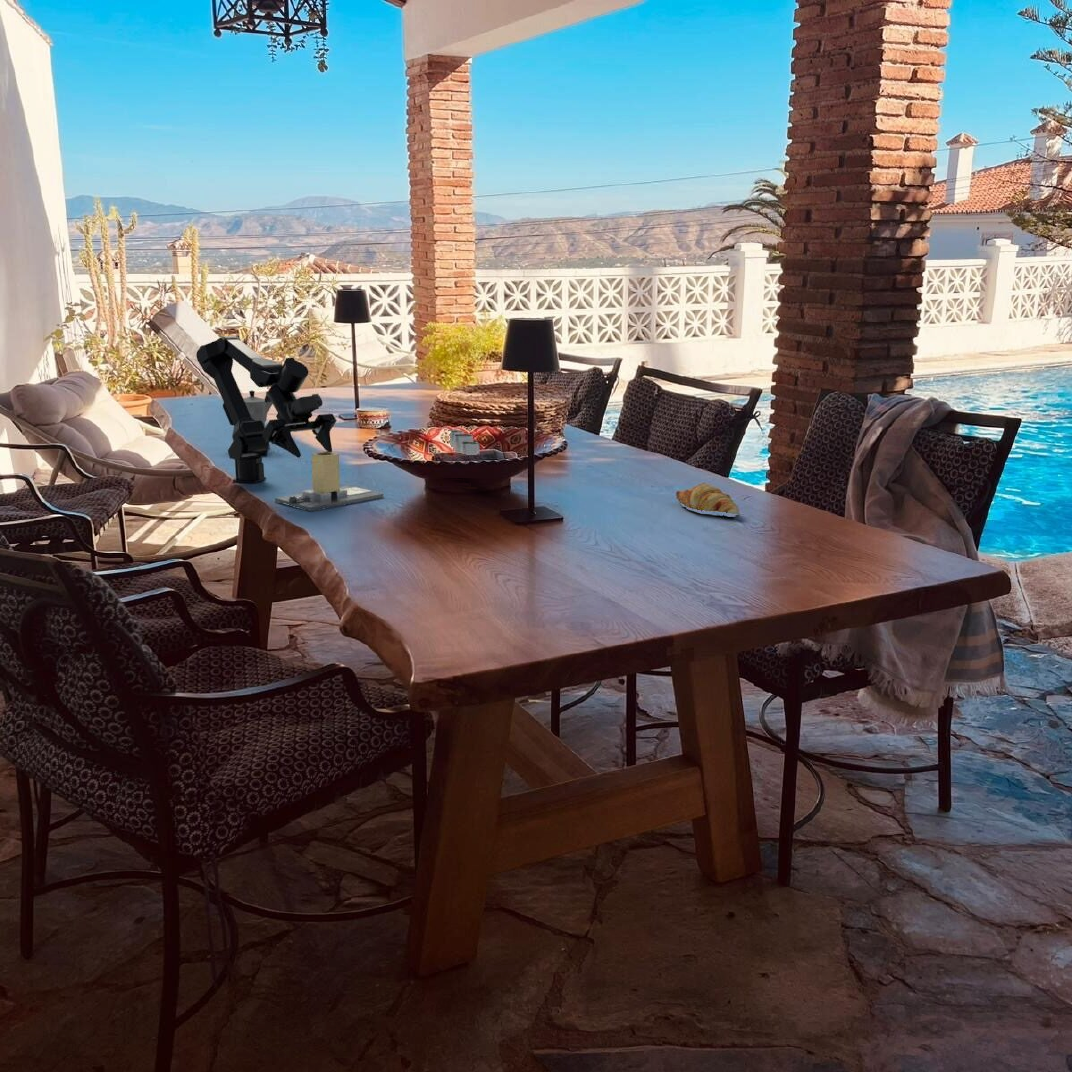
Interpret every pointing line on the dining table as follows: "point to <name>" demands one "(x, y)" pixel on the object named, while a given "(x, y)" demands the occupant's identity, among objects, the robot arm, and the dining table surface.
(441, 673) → the dining table surface
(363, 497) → the grey base plate
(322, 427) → the robot arm
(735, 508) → the croissant
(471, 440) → the goblet set
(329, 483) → the sleeve
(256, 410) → the coffeepot
